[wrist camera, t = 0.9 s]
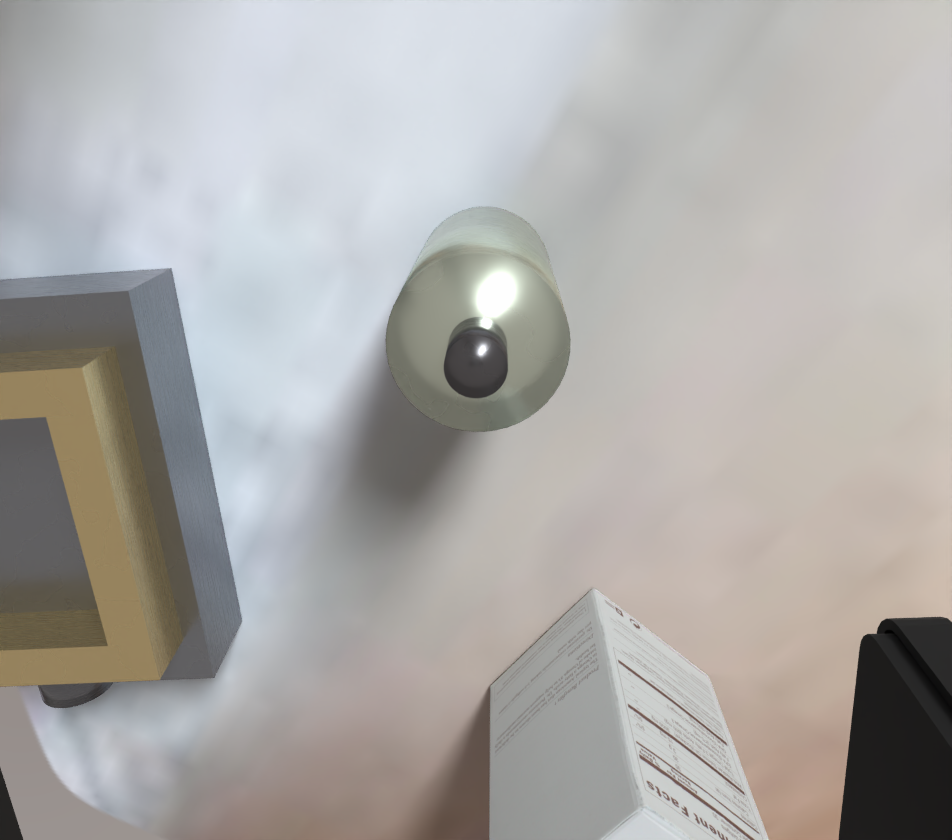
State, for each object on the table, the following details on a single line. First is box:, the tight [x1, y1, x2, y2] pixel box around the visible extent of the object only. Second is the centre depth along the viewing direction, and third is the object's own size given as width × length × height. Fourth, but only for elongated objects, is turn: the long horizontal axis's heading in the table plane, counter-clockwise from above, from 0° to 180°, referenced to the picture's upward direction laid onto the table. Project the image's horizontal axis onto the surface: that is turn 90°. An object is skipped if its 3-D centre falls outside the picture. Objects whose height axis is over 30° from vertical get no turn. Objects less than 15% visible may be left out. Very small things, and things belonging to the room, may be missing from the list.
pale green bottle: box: [386, 207, 570, 432], centre depth 27 cm, size 5×5×12 cm
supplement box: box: [489, 589, 769, 840], centre depth 33 cm, size 7×7×13 cm
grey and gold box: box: [0, 268, 242, 708], centre depth 33 cm, size 18×14×6 cm
